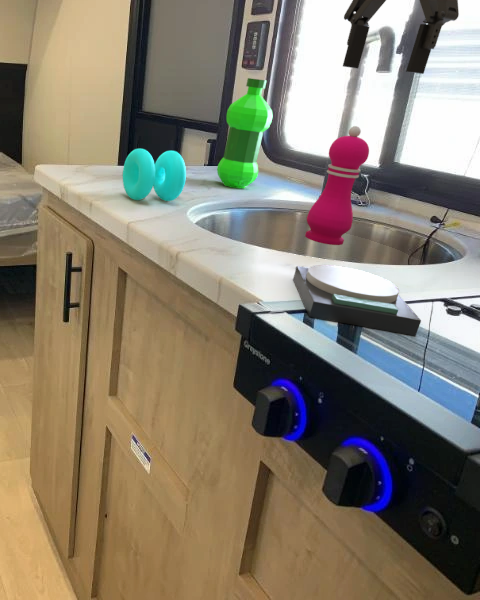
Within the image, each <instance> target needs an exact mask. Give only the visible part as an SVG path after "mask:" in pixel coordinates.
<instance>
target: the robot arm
mask: <svg viewBox="0 0 480 600" xmlns="http://www.w3.org/2000/svg"><path fill="white" fill-rule="evenodd" d="M386 1H387V0H352V1H351V3H350V4H349V6H348V8H347V9H346V11H345V13H344V14H343V19H344V20H345V21H348V22H349V23H350V24H351V25H350V30H349V34H348V36H347V37H348V38H347V42H346V45H347V47H346V52H345V56H344V59H343V63H342V67H344V68H350V69H351V68H352V69H359V67H360V64H361V60H362V56H363V54H364V53H363V52H364V50H365V46H366V41H367V39H368V35H369V31H370V24H369V22H370V20H371V19H372V18H373V17H374V16H375V14H376V13H378V11H379V10H380V8H381V7H383V5H384V4H385V2H386ZM419 3H420V6H421V10H422V12H423V15H424V18H425V19H424V20H423V21H422V22H423V23H420V24H419V28H418V31H417V33H416V37H415V40H414V44H413V47H412V50H411V54H410V57H409V60H408V63H407V68H406V70H405V72H406V73H412V74H420V75H423V74H424V73H425V70H426V68H427V64H428V61H429V58H430V54H431V51H432V50H435V48H436V46H437V44H438V40H439V37H440V33H441V30H442V28H443V26H444V25H445V24H446V23H448V22H451V21H453V22H455V21H457V19H458V18H459V16H460V14H459V0H419Z"/></svg>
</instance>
